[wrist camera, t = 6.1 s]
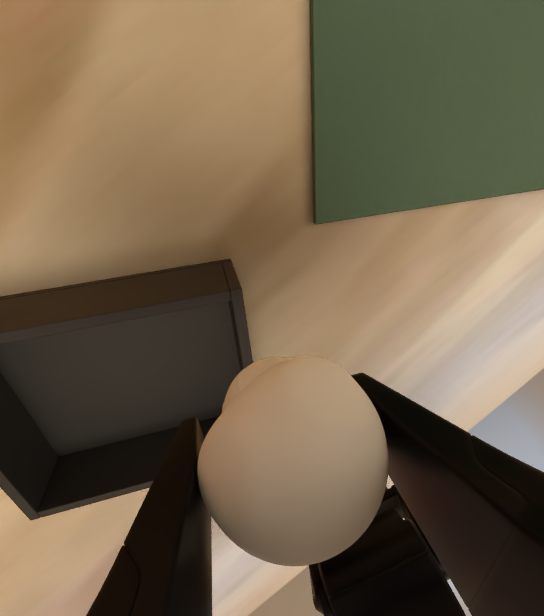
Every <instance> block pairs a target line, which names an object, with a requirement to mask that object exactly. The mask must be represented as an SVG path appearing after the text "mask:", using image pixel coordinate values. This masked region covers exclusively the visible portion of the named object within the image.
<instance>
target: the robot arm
mask: <svg viewBox="0 0 544 616" xmlns="http://www.w3.org/2000/svg"><path fill="white" fill-rule="evenodd" d="M351 376H352V377H353V379H354V380H355V381H356V382H357V383H358V384H359V386H360V387H361V388H362V389H363V391H364V392H365V393H366V394H367V396H368V397H369V399H370V400H371V402H372V404H373V405H374V407H375V409H376V411H377V413H378V415H379V417H380V420H381V423H382V425H383V429H384V432H385V436H386V441H387V447H388V461H389V464H388V475H389V476H390V478H391V480H392V481H393V483H394V485H392V487H391V488H389V489H388V488H387V487H386V489H385V493H384V496H383V499H382V502H381V505H380V507H379V509H378V511H377V513H376V515H375V517H374V519H373V521H372V522H371V524H370V525H369V527H368V528H367V529H366V531H365V532H364V533H363V534H362V535H361V536H360V538H359V539H358V540H357V541H356V542H354V543H353V544H352V545H351V546H350V547H348V548H347V549H346V550H344V551H343V552H341V553H340V554H338V555H336V556H334V557H332V558H330V559H328V560H325V561H322V562H319V563H315V564H311V565H309V569H310V578H311V586H312V594H313V601H314V605H315V608H316V609H317V610H318V611H319V612H321V613H322V614H324V616H466V615H465V613H464V611H463V609H462V607H461V605H460V604H459V602H458V600H457V598H456V596H455V595H454V593H453V592H452V589H451V587H450V586H449V584H448V582H447V580H448V579H451V581H452V582H453V584H454V586H455V588H456V589H457V591H458V593H459V594H460V596H461V598H462V599H463V601H464V603H465V604H466V606H467V607H468V608H469V611H470V613H471V615H472V616H544V472H542V471H540V470H538V469H536V468H534V467H532V466H530V465H528V464H526V463H524V462H522V461H520V460H518V459H516V458H514V457H511V456H510V455H508V454H506V453H504V452H502V451H500V450H499V449H497V448H495V447H493V446H491V445H490V444H488V443H486V442H484V441H482V440H480V439H479V438H477V437H475V436H473V435H472V436H471V435H470V434H469V433H468V432H466V431H465V430H463V429H461V428H459V427H458V426H456V425H454V424H452V423H451V422H449V421H447V420H445V419H443V418H442V417H440V416H438V415H436V414H435V413H433V412H431V411H429V410H428V409H426V408H424V407H422V406H421V405H419V404H417V403H415V402H414V401H412V400H410V399H408V398H407V397H405V396H403V395H401V394H400V393H398V392H396V391H394V390H393V389H391V388H389V387H387V386H385V385H384V384H382V383H380V382H378V381H377V380H375V379H373V378H371V377H370V376H368V375H366V374H364V373H358V374H354V375H351ZM203 441H204V436H203V433H202V430H201V427H200V424H199V421H198V418H197V417H191V418H187V419H184V420H183V421H182V422H181V424H180V426H179V429H178V431H177V433H176V435H175V437H174V439H173V441H172V443H171V445H170V447H169V449H168V451H167V454H166V456H165V458H164V460H163V462H162V464H161V466H160V468H159V470H158V472H157V474H156V477H155V479H154V481H153V483H152V485H151V487H150V489H149V491H148V493H147V495H146V497H145V500H144V502H143V504H142V506H141V508H140V510H139V512H138V514H137V516H136V518H135V520H134V522H133V525H132V527H131V529H130V531H129V533H128V535H127V537H126V539H125V541H124V545H125V546H122V547H121V549H120V551H119V553H118V556H117V558H116V560H115V562H114V564H113V566H112V568H111V570H110V572H109V574H108V576H107V578H106V580H105V582H104V584H103V586H102V588H101V590H100V592H99V593H98V595H97V597H96V599H95V601H94V602H93V604H92V606H91V608H90V610H89V611H88V613H87V615H86V616H212V554H211V514H210V513H209V511H208V509H207V507H206V505H205V503H204V501H203V498H202V495H201V492H200V488H199V484H198V475H197V464H198V457H199V453H200V449H201V446H202V444H203ZM402 518H404V519H405V520H403V519H402Z"/></svg>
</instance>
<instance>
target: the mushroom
mask: <svg viewBox="0 0 544 616" xmlns="http://www.w3.org/2000/svg"><path fill="white" fill-rule="evenodd" d="M388 464H389V461H388V447H387V441H386V436H385V432H384V429H383V425H382V423H381V420H380V417H379V415H378V413H377V411H376V409H375V407H374V405H373V404H372V402H371V400H370V399H369V397H368V396H367V394H366V393H365V392H364V391H363V389H362V388H361V387H360V386H359V384H358V383H357V382H356V381H355V380H354V379H353V377H352V376H351V375H350V374H349V373H348V372H346V371H345V370H344V369H343V368H342V367H340V366H339V365H337V364H336V363H334V362H332V361H330V360H328V359H325V358H322V357H318V356H299V357H295V358H291V359H289V358H283V357H271V358H266V359H262V360H259V361H257V362H254V363H252V364H251V365H249V366H247V367H246V368H245V369H243V370H242V371H241V372H240V373H239V374H238V375H237V376H236V377H235V379H234V380H233V381H232V383H231V385H230V387H229V389H228V391H227V394H226V397H225V401H224V403H223V406H222V414H221V415H220V416H219V418H218V419H217V420H216V421H215V423H214V424H213V426H212V427H211V429H210V430H209V432H208V433H207V435H206V437H205V439H204V441H203V444H202V446H201V449H200V453H199V457H198V464H197V475H198V484H199V488H200V492H201V495H202V498H203V501H204V503H205V505H206V507H207V509H208V511H209V513H210V514H211V516H212V517H213V519H214V520H215V522H216V523H217V524H218V526H219V527H220V528H221V530H222V531H223V532H224V533H225V534H226V535H227V536H228V537H229V538H230V539H231V540H232V541H233V542H234V543H235V544H236V545H237V546H239V547H240V548H241V549H243V550H244V551H246V552H247V553H249V554H251V555H253V556H255V557H257V558H259V559H261V560H264V561H267V562H270V563H274V564H278V565H285V566H304V565H311V564H315V563H319V562H322V561H325V560H328V559H330V558H332V557H334V556H336V555H338V554H340V553H341V552H343V551H344V550H346V549H347V548H348V547H350V546H351V545H352V544H353V543H354V542H356V541H357V540H358V539H359V538H360V536H361V535H362V534H363V533H364V532H365V531H366V529H367V528H368V527H369V525H370V524H371V522H372V521H373V519H374V517H375V515H376V513H377V511H378V509H379V507H380V505H381V502H382V499H383V496H384V493H385V489H386V484H387V478H388Z"/></svg>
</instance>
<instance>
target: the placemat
mask: <svg viewBox="0 0 544 616" xmlns="http://www.w3.org/2000/svg"><path fill="white" fill-rule="evenodd" d="M310 20H311V82H312V143H313V205H314V223H315V224H321V223H328V222H334V221H341V220H347V219H354V218H360V217H366V216H373V215H379V214H386V213H392V212H399V211H405V210H412V209H418V208H425V207H431V206H438V205H444V204H451V203H457V202H464V201H470V200H477V199H483V198H490V197H496V196H502V195H509V194H515V193H522V192H528V191H535V190H541V189H544V0H310Z"/></svg>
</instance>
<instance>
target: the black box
mask: <svg viewBox="0 0 544 616" xmlns="http://www.w3.org/2000/svg"><path fill="white" fill-rule="evenodd" d="M252 363H253V361H252V355H251V348H250V341H249V334H248V327H247V321H246V314H245V307H244V300H243V294H242V288H241V286H240V283H239V280H238V278H237V275H236V272H235V270H234V267H233V264H232V261H231V259H227V260H221V261H215V262H209V263H203V264H197V265H191V266H185V267H178V268H172V269H166V270H160V271H154V272H148V273H142V274H136V275H130V276H124V277H118V278H112V279H106V280H100V281H94V282H88V283H82V284H76V285H70V286H64V287H58V288H52V289H46V290H40V291H34V292H28V293H22V294H16V295H10V296H4V297H0V487H1V488H2V489H3V491H4V492H5V493H6V494H7V495H8V496H9V497H10V498H11V499H12V500H13V502H14V503H15V504H16V505H17V506H18V507H19V508H20V509H21V510H22V511H23V513H24V514H25V515H26V516H27V517H28V518H29V519H30V520H34V519H38V518H40V517H45V516H49V515H52V514H56V513H59V512H63V511H67V510H70V509H74V508H77V507H81V506H85V505H88V504H92V503H95V502H99V501H103V500H106V499H110V498H113V497H117V496H121V495H124V494H128V493H131V492H135V491H139V490H142V489H146V488H150V487H151V485H152V483H153V481H154V479H155V477H156V474H157V472H158V470H159V468H160V466H161V464H162V462H163V460H164V458H165V456H166V454H167V451H168V449H169V447H170V445H171V443H172V441H173V439H174V437H175V435H176V433H177V431H178V429H179V426H180V424H181V422H182V421H183V420H184V419H187V418H191V417H197V418H198V421H199V424H200V427H201V430H202V433H203V436H204V439H205V437H206V435H207V433H208V432H209V430H210V429H211V427H212V426H213V424H214V423H215V421H216V420H217V419H218V418H219V416H220V415H221V414H222V406H223V403H224V401H225V397H226V394H227V391H228V389H229V387H230V385H231V383H232V381H233V380H234V379H235V377H236V376H237V375H238V374H239V373H240V372H241V371H242V370H243V369H245V368H246V367H247V366H249V365H251V364H252Z"/></svg>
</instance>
